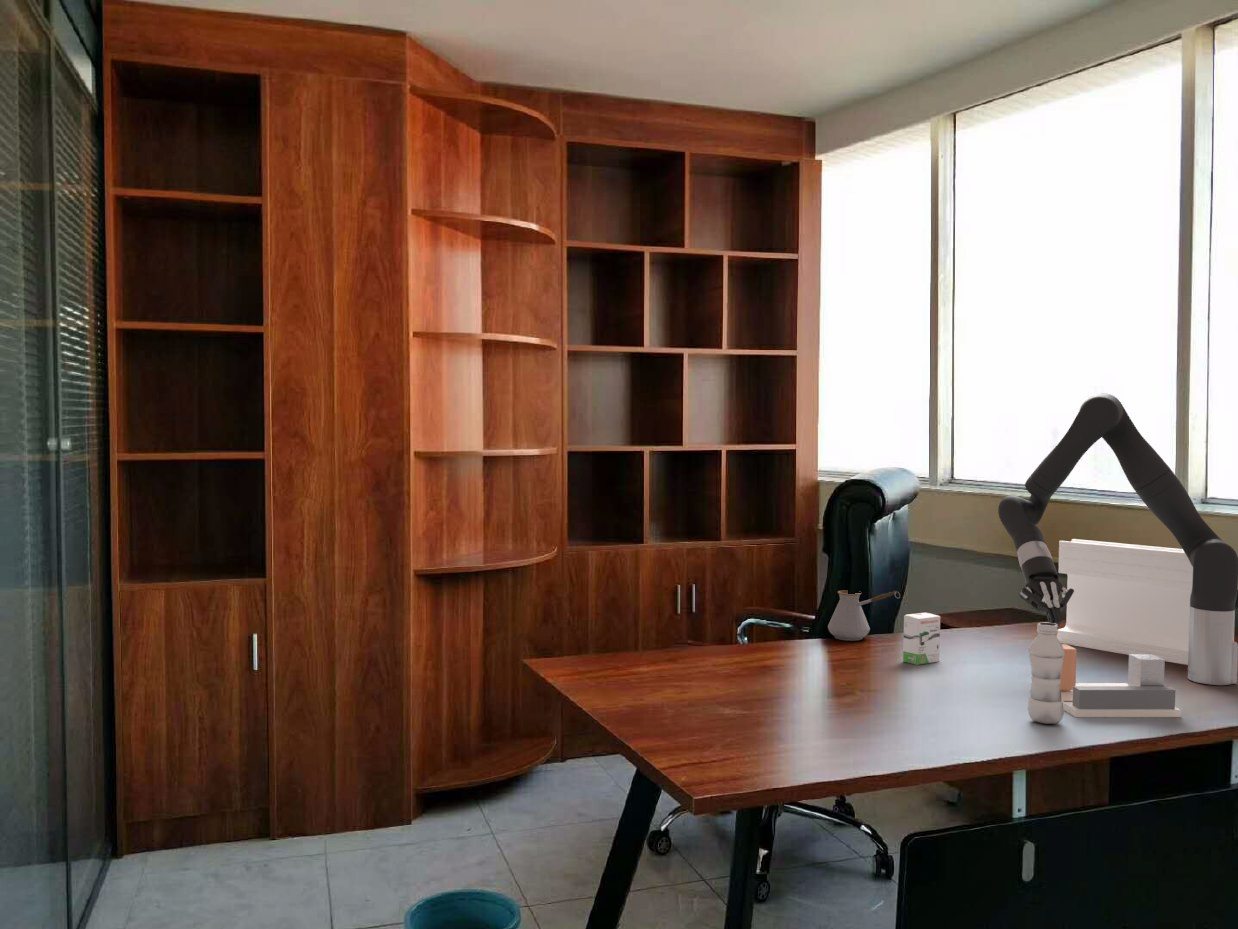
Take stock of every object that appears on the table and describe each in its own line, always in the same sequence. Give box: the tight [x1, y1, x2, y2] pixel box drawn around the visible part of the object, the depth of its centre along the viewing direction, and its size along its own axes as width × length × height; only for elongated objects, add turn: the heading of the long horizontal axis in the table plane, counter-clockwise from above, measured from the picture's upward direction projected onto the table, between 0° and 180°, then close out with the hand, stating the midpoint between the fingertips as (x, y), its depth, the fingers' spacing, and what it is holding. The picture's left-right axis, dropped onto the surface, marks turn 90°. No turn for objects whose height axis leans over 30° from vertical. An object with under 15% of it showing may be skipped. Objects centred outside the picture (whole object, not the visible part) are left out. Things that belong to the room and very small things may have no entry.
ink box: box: [902, 612, 941, 666], centre depth 267 cm, size 9×5×12 cm, turn 123°
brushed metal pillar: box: [1127, 654, 1166, 686], centre depth 224 cm, size 5×5×9 cm
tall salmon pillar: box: [1060, 643, 1077, 690], centre depth 234 cm, size 5×5×9 cm
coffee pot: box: [827, 589, 901, 642], centre depth 291 cm, size 21×12×15 cm, turn 44°
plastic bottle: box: [1027, 621, 1065, 725], centre depth 213 cm, size 6×7×20 cm
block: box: [1056, 538, 1193, 666], centre depth 280 cm, size 35×8×28 cm, turn 41°
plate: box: [1030, 682, 1182, 718], centre depth 229 cm, size 22×22×6 cm
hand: (1057, 624), depth 246 cm, fingers closed
